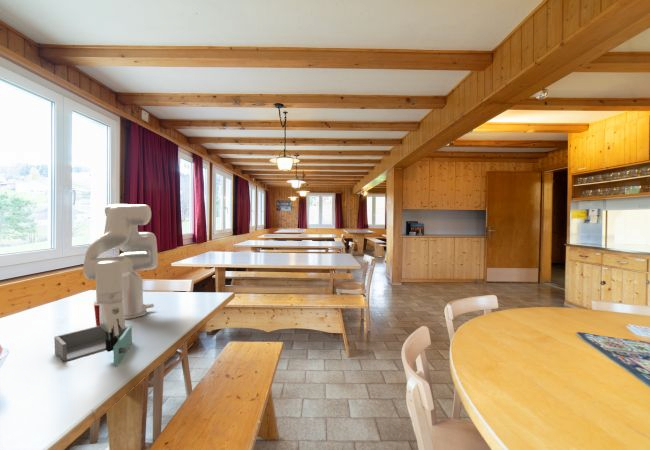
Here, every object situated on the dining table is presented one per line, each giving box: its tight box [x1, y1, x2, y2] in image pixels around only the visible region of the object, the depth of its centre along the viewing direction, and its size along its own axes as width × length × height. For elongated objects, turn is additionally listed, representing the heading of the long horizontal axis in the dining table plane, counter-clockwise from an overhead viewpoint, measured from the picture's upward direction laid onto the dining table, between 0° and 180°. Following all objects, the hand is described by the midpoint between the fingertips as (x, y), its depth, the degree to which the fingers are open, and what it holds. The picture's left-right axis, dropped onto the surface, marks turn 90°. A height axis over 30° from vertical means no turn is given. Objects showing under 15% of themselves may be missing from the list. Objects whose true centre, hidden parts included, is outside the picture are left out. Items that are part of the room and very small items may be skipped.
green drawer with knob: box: [113, 325, 133, 367], centre depth 110 cm, size 21×3×6 cm, turn 21°
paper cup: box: [92, 300, 100, 327], centre depth 131 cm, size 8×8×14 cm
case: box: [53, 324, 128, 363], centre depth 115 cm, size 20×12×6 cm, turn 141°
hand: (112, 349), depth 105 cm, fingers closed
